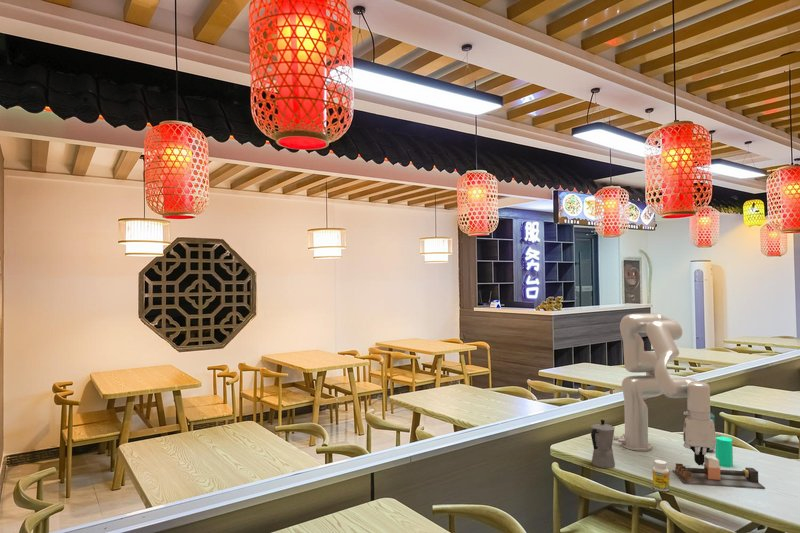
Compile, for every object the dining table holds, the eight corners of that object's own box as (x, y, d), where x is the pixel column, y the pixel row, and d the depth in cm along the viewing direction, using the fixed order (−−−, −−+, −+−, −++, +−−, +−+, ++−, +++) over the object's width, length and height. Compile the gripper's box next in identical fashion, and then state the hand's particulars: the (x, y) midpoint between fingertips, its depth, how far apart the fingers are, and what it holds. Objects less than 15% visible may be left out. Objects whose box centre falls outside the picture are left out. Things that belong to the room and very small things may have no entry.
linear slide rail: (683, 483, 188) (683, 471, 188) (672, 471, 200) (672, 459, 200) (764, 489, 183) (764, 476, 183) (748, 476, 195) (748, 464, 195)
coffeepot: (600, 457, 216) (599, 414, 216) (622, 463, 209) (621, 419, 209) (581, 466, 206) (580, 421, 206) (603, 473, 199) (603, 426, 199)
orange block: (708, 479, 190) (708, 460, 190) (704, 474, 194) (703, 456, 194) (720, 479, 189) (720, 460, 190) (715, 475, 193) (715, 456, 194)
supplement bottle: (668, 486, 185) (668, 460, 185) (670, 492, 180) (670, 465, 180) (652, 484, 187) (651, 458, 187) (653, 490, 182) (653, 463, 182)
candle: (730, 462, 209) (730, 433, 210) (734, 467, 204) (734, 437, 204) (713, 461, 211) (713, 431, 212) (717, 466, 206) (717, 436, 206)
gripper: (680, 417, 191) (681, 466, 190) (724, 418, 188) (725, 469, 188) (673, 411, 198) (674, 459, 198) (716, 413, 195) (717, 462, 195)
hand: (699, 464), depth 193 cm, fingers closed
